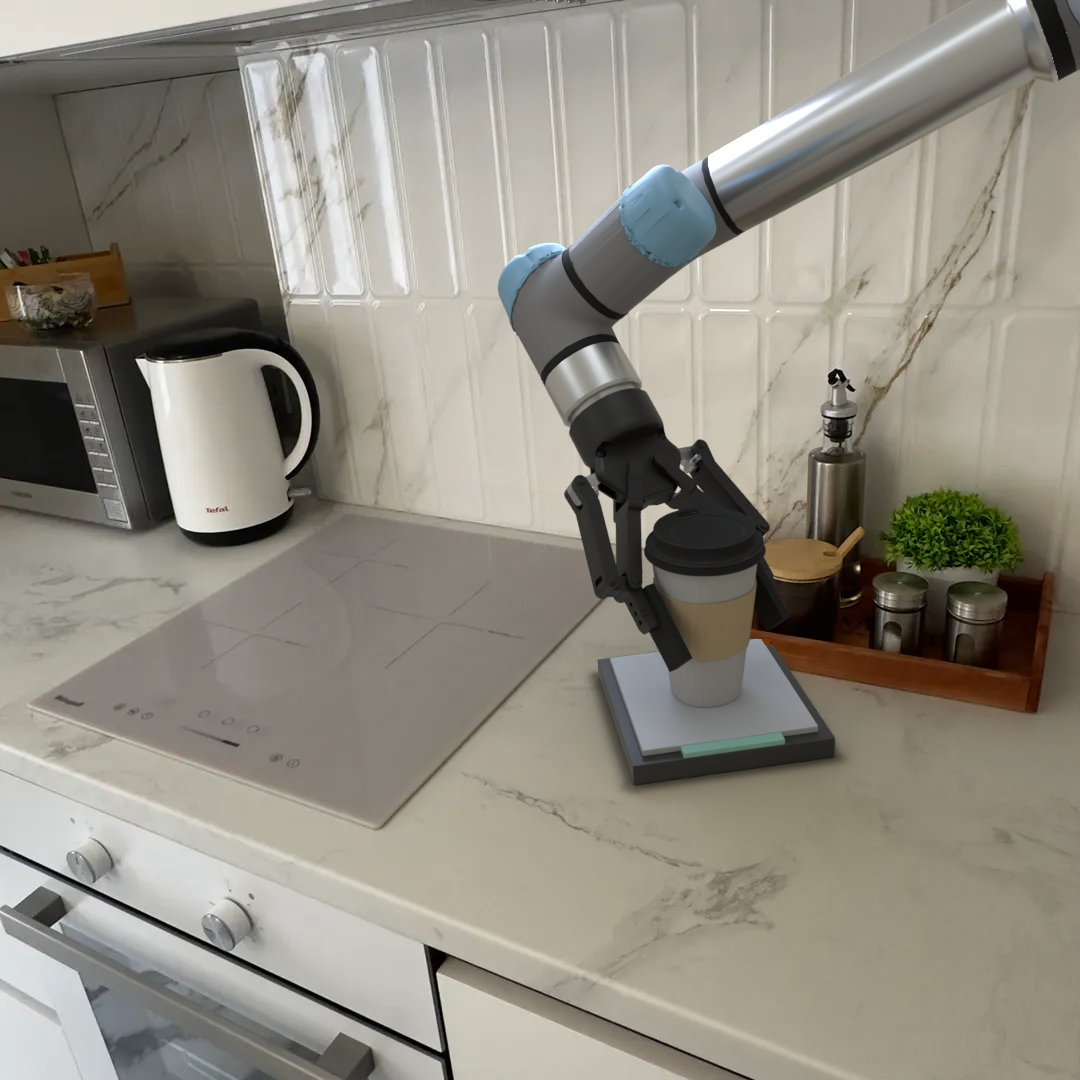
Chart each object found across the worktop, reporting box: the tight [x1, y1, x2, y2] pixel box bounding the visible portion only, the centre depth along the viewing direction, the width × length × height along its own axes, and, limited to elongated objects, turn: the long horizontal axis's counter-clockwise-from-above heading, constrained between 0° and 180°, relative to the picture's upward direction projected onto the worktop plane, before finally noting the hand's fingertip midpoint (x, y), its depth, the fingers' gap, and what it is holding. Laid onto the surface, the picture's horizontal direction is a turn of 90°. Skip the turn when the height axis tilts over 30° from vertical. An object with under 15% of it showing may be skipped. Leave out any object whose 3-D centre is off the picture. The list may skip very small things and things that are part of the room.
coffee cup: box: [643, 507, 767, 708], centre depth 79 cm, size 9×9×15 cm
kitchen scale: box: [597, 638, 836, 786], centre depth 83 cm, size 16×16×2 cm
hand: (731, 643), depth 77 cm, fingers closed on coffee cup, 9 cm apart
